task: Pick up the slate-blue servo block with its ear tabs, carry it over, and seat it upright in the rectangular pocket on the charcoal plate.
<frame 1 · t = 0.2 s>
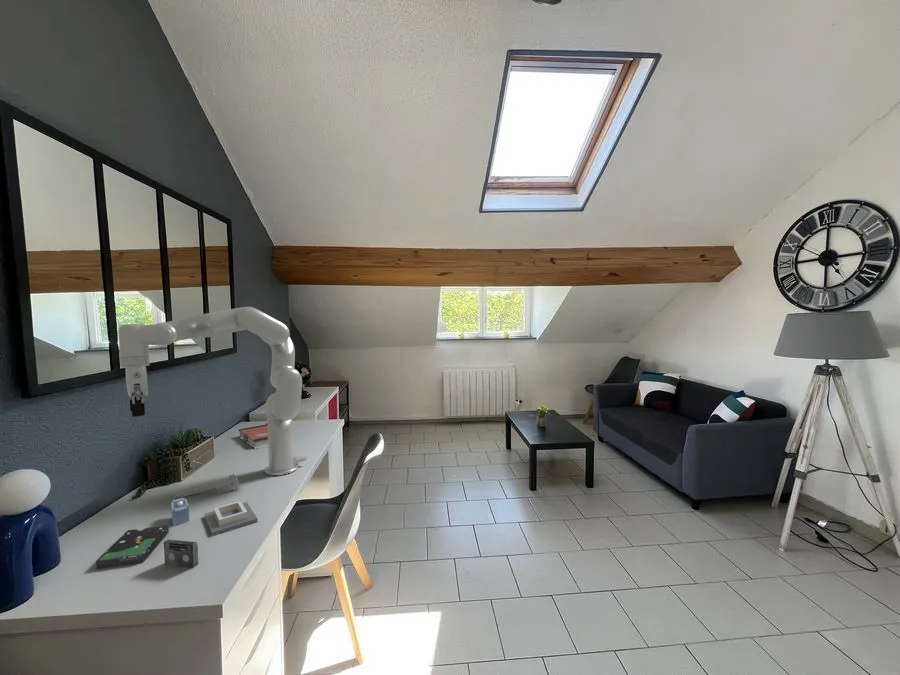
hand: (137, 413, 130), 31 cm above the table, tool pointing down, fingers open, 9 cm apart
book: (263, 440, 201), on the table
servo block: (180, 519, 121), on the table
mini dv tape: (181, 565, 99), on the table
caliper: (206, 494, 139), on the table
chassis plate: (230, 519, 121), on the table
disk drive: (135, 551, 106), on the table
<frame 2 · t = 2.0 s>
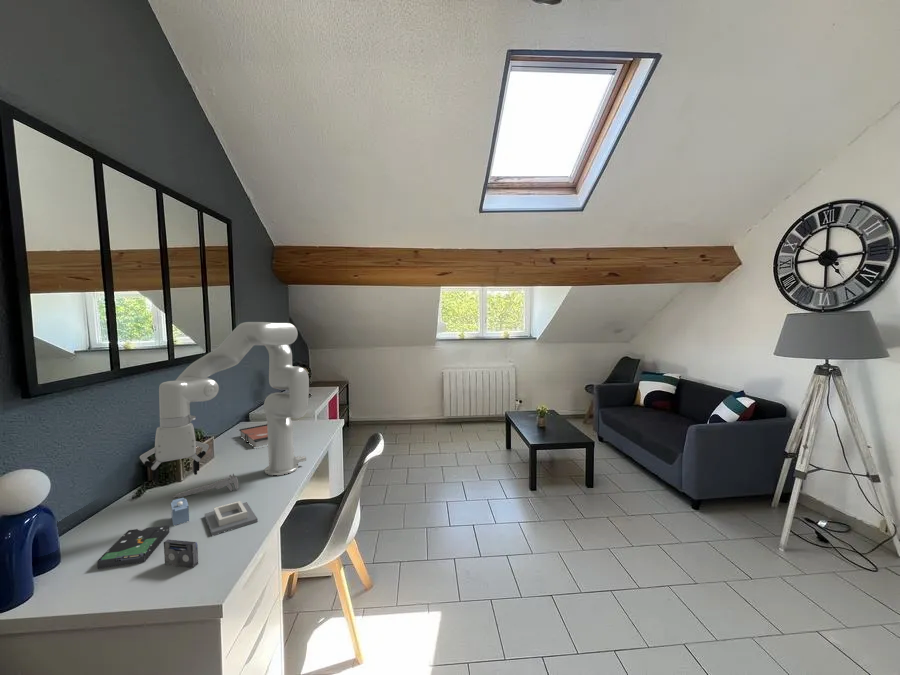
hand: (176, 477, 120), 13 cm above the table, tool pointing down, fingers open, 9 cm apart
nothing on the table moved.
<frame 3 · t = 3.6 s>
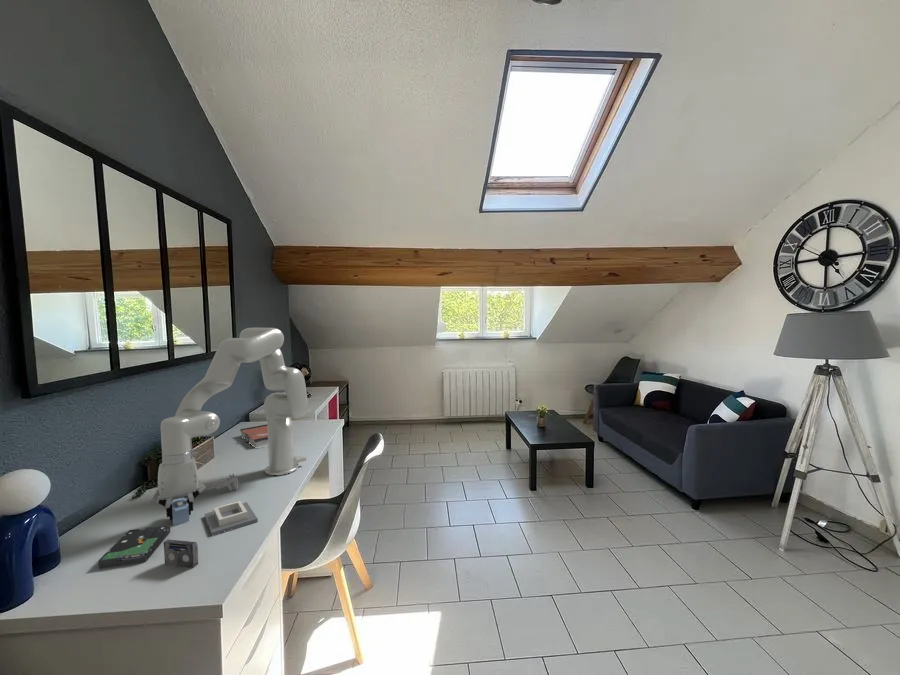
hand: (180, 515, 121), 1 cm above the table, tool pointing down, fingers closed on servo block, 4 cm apart
servo block: (180, 519, 121), on the table, touching gripper
everything else where it was.
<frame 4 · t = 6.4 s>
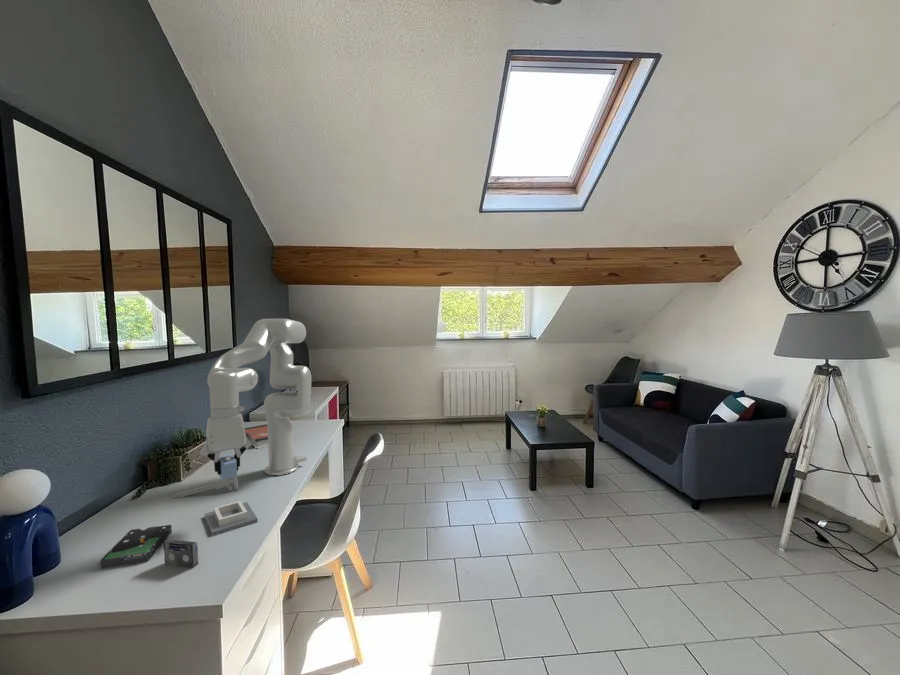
hand: (227, 470, 120), 15 cm above the table, tool pointing down, fingers closed on servo block, 4 cm apart
servo block: (227, 475, 120), point 14 cm above the table, touching gripper
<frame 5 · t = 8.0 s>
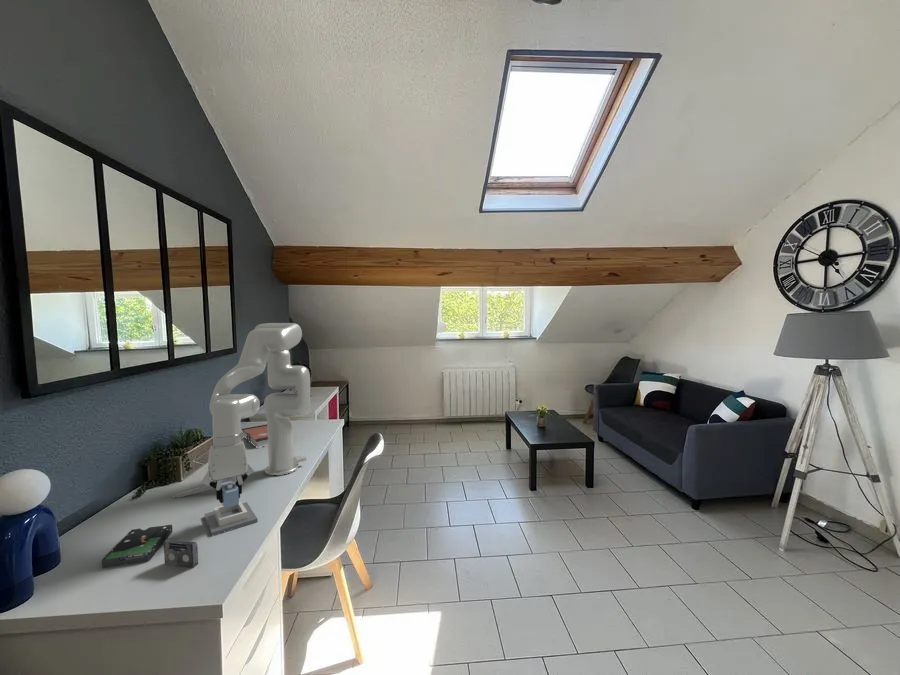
hand: (229, 498, 120), 7 cm above the table, tool pointing down, fingers closed on servo block, 4 cm apart
servo block: (229, 502, 120), point 5 cm above the table, touching gripper
when the fingers open (4 cm above the table, at t = 9.3 s): servo block drops 2 cm, resting on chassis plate.
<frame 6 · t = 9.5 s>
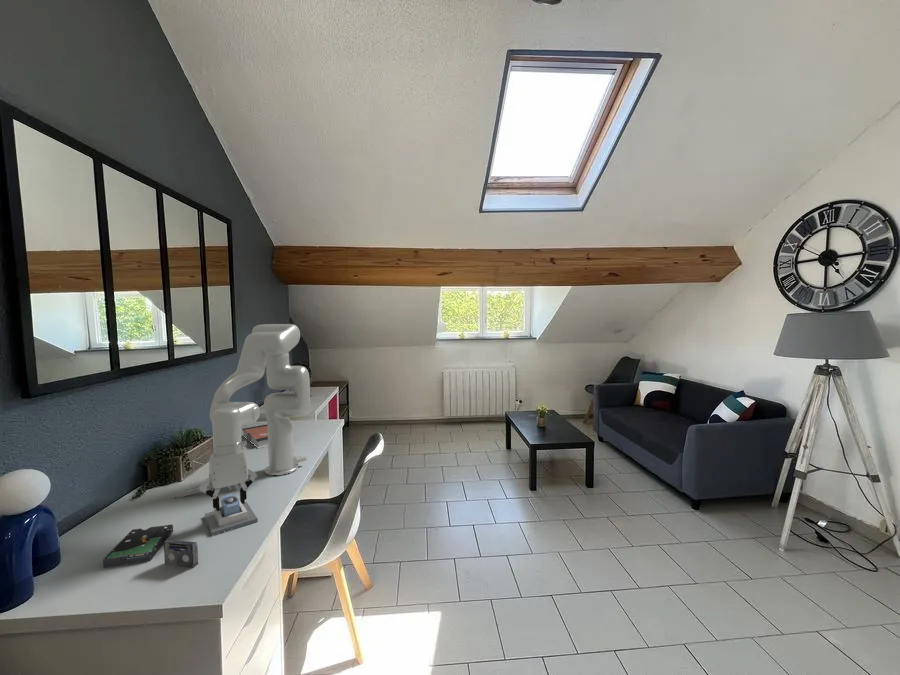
hand: (230, 505, 121), 4 cm above the table, tool pointing down, fingers open, 6 cm apart
servo block: (230, 516, 121), point 1 cm above the table, touching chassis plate
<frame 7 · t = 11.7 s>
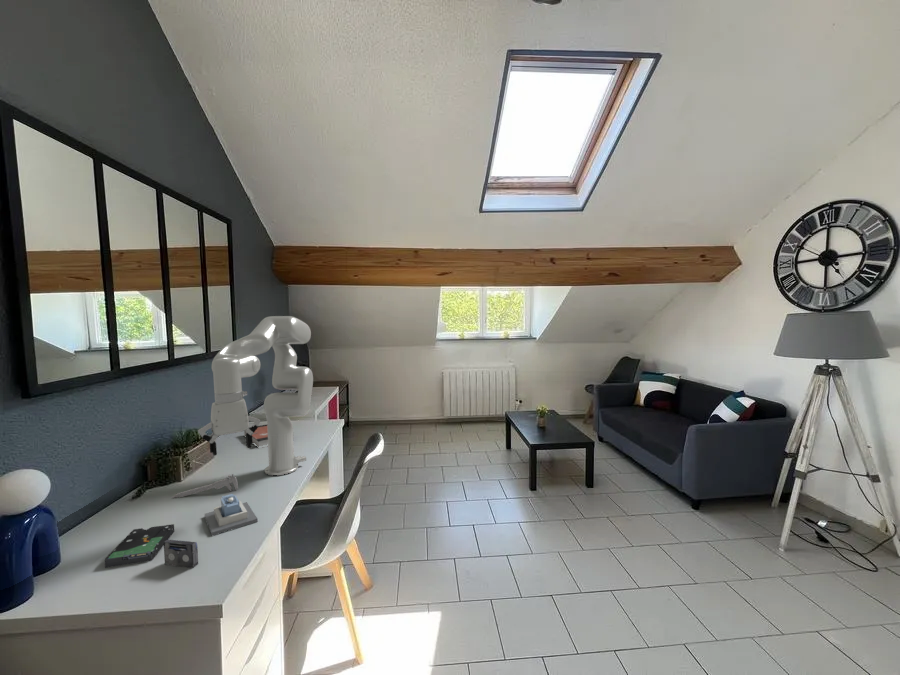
hand: (232, 450, 125), 20 cm above the table, tool pointing down, fingers open, 9 cm apart
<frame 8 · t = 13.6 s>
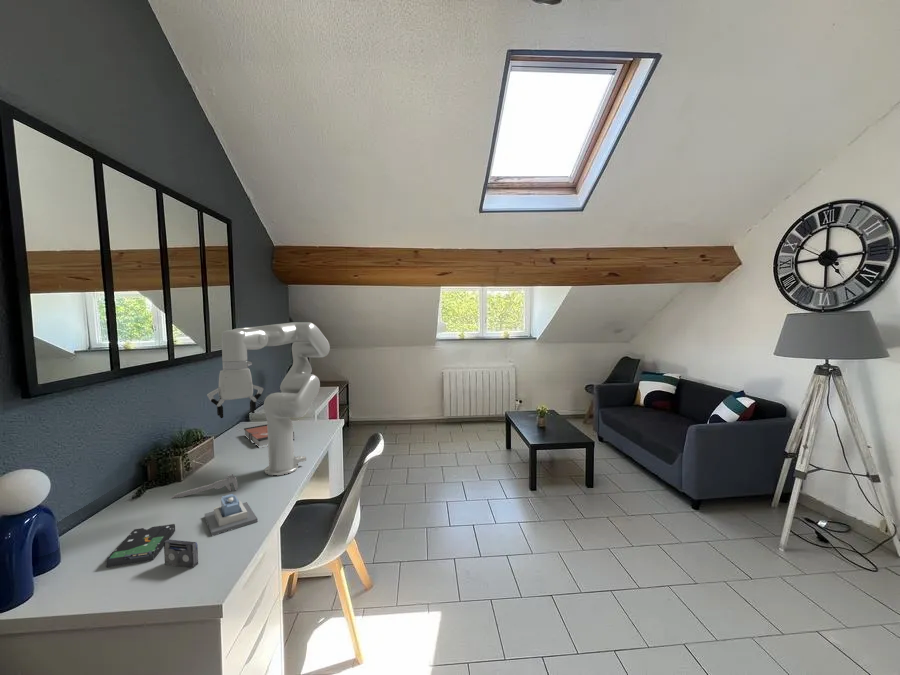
hand: (237, 414, 137), 28 cm above the table, tool pointing down, fingers open, 9 cm apart
at the end: servo block 0.0 cm off-centre on the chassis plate, point 1.0 cm above the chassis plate's base; servo block tilted 0°; the gripper is holding nothing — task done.
